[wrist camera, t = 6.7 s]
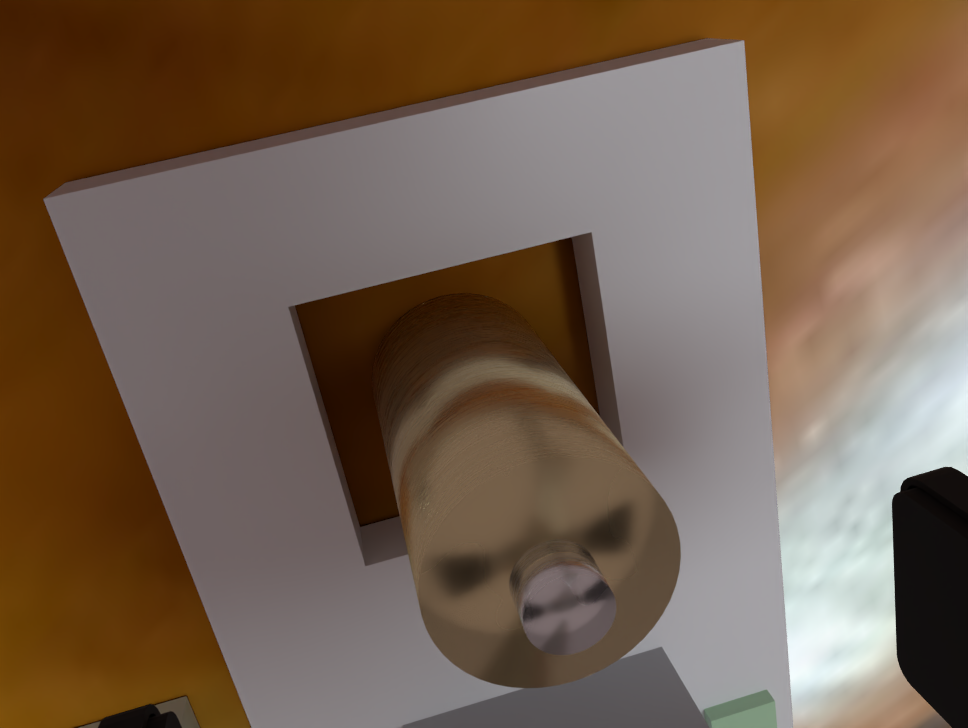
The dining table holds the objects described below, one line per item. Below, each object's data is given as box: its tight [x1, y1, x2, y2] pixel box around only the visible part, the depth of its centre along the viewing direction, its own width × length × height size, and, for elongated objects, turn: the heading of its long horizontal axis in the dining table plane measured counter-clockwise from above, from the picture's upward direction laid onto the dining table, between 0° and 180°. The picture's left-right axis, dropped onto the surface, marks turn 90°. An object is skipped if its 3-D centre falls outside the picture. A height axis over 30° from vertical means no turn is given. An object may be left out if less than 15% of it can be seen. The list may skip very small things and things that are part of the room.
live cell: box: [372, 293, 681, 688], centre depth 15 cm, size 4×4×8 cm
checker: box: [43, 38, 793, 728], centre depth 18 cm, size 21×12×4 cm, turn 12°
